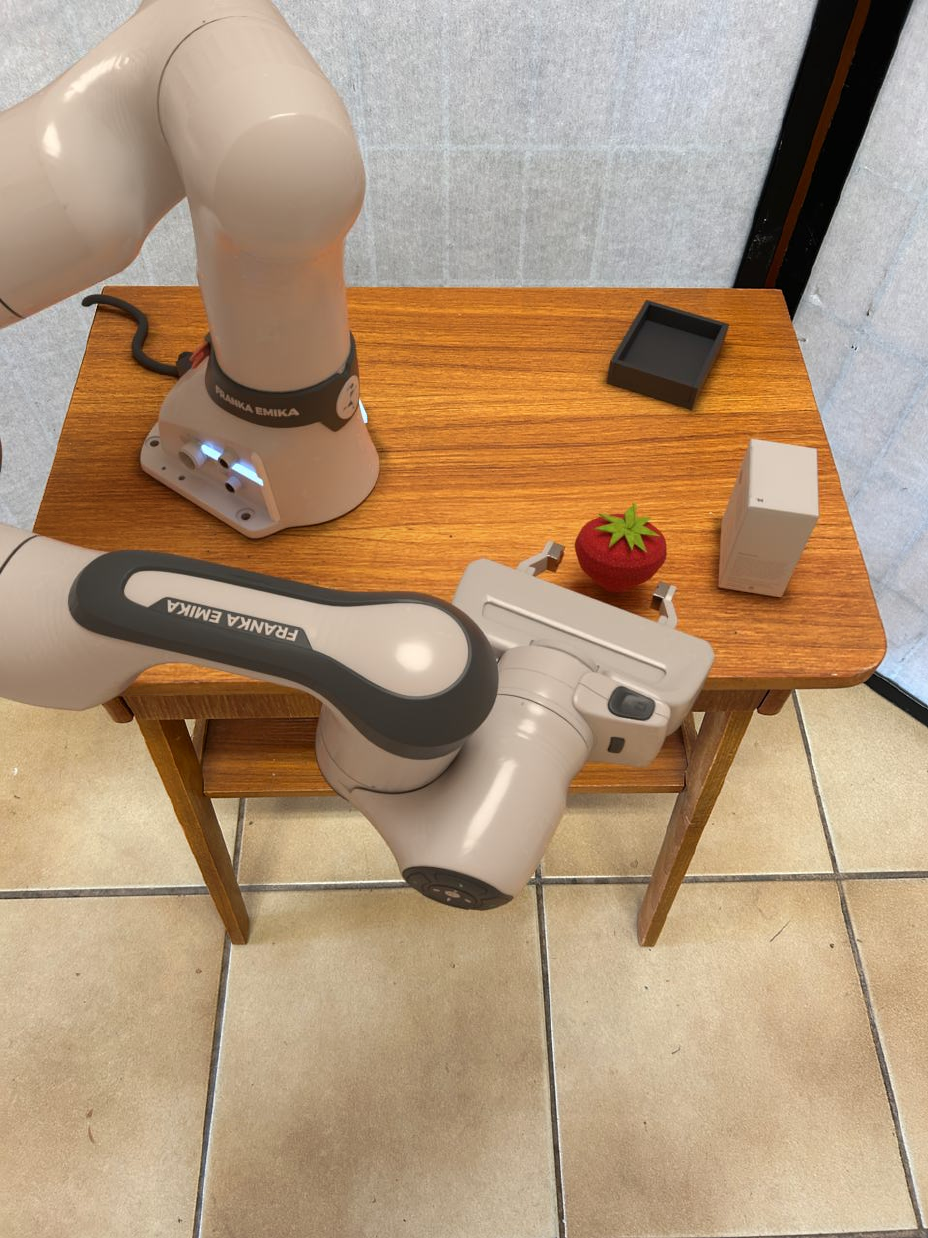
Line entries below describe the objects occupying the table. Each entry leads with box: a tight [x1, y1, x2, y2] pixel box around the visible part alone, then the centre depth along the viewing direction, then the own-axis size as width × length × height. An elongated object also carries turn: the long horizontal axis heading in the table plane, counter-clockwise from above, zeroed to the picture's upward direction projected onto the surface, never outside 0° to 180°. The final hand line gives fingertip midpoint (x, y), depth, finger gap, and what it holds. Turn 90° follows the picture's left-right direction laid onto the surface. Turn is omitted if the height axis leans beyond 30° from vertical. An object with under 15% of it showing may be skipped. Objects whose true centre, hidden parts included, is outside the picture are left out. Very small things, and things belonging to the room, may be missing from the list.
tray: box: [606, 299, 730, 411], centre depth 99 cm, size 9×11×3 cm
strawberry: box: [574, 502, 668, 594], centre depth 78 cm, size 6×8×10 cm
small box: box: [717, 438, 820, 598], centre depth 80 cm, size 8×6×10 cm
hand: (611, 567), depth 76 cm, fingers open, 8 cm apart
